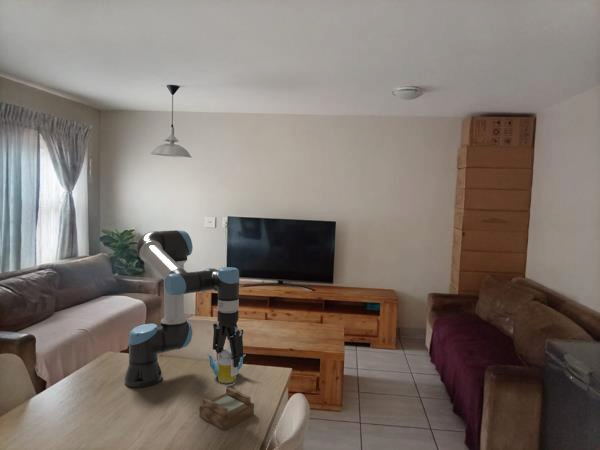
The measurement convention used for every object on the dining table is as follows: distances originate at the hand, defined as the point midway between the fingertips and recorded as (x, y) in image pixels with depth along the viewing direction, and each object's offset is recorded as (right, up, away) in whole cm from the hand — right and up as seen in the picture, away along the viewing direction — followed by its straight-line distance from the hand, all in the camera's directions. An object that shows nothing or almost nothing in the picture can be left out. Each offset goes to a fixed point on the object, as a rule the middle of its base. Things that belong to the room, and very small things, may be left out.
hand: (227, 372), depth 148 cm
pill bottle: (0, -4, 0) cm, 4 cm away
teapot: (-7, -14, +34) cm, 37 cm away
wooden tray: (0, -16, +1) cm, 16 cm away
